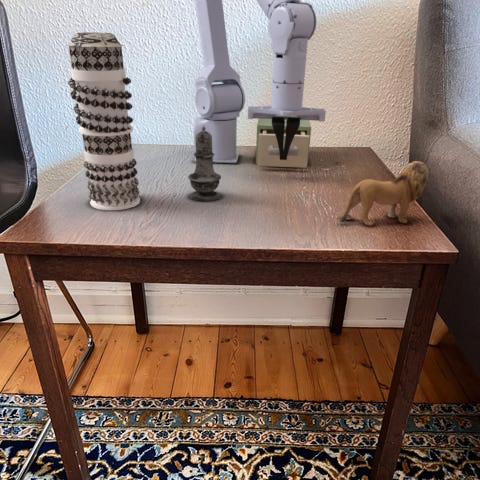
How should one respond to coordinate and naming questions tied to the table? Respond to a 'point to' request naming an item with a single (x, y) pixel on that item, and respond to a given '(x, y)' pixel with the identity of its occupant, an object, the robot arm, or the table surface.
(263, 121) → the cabinet
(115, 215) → the table surface
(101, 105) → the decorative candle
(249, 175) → the table surface
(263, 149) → the drawer
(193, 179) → the stone fountain
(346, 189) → the table surface
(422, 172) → the lion figurine
